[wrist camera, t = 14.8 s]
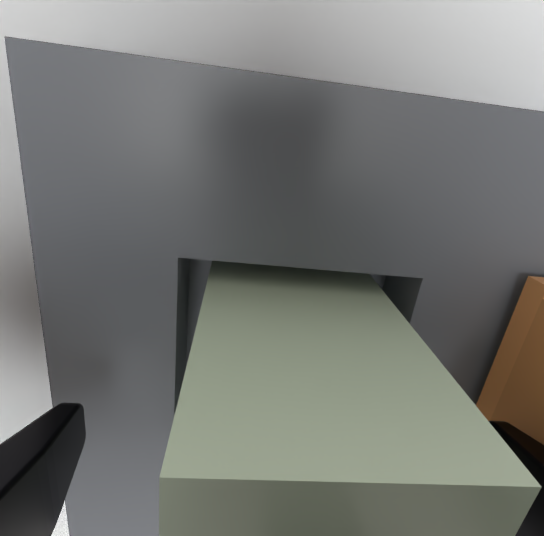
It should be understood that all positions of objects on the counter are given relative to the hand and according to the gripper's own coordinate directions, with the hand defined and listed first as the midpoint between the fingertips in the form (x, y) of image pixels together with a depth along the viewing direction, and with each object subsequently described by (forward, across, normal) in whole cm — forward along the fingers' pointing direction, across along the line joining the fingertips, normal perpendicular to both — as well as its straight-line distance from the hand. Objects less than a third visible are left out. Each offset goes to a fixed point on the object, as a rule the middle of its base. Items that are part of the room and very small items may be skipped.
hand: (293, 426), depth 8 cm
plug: (+4, 0, 0) cm, 4 cm away
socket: (+4, -2, 0) cm, 4 cm away
